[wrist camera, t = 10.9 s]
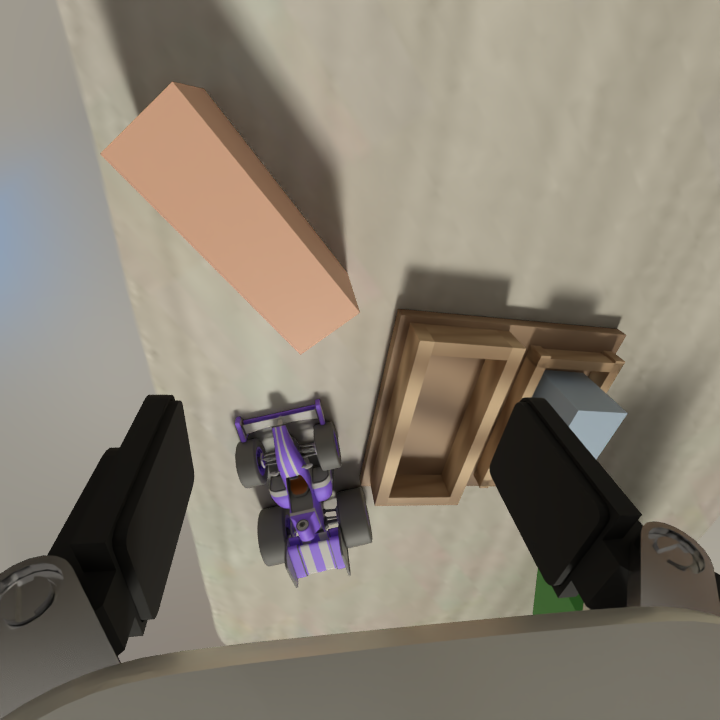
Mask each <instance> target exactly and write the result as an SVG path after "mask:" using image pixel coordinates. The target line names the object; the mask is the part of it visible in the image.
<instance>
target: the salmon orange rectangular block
mask: <svg viewBox="0 0 720 720" xmlns="http://www.w3.org/2000/svg"><path fill="white" fill-rule="evenodd" d="M100 154H101V155H102V156H103V157H104V158H105V159H106V160H107V161H108V162H109V163H110V164H111V165H112V166H113V167H114V168H115V169H116V170H117V171H118V172H119V173H120V174H121V175H122V176H123V177H124V178H125V179H126V180H127V181H128V182H129V183H130V184H131V185H132V186H133V187H134V188H135V189H136V190H137V191H138V192H139V193H140V194H141V195H142V196H143V197H144V198H145V199H146V200H147V201H148V202H149V203H150V204H151V205H152V206H153V207H154V208H155V209H156V210H157V211H158V212H159V213H160V214H161V215H162V216H163V217H164V218H165V219H166V220H167V221H168V222H169V223H170V224H171V225H172V226H173V227H174V228H175V229H176V230H177V231H178V232H179V233H180V234H181V235H182V236H183V237H184V238H185V239H186V240H187V241H188V242H189V243H190V244H191V245H192V246H193V247H194V248H195V249H196V250H197V251H198V252H199V253H200V254H201V255H202V256H203V257H204V258H205V259H206V260H207V261H208V262H209V263H210V264H211V265H212V266H213V267H214V268H215V269H216V270H217V271H218V272H219V273H220V274H221V275H222V276H223V277H224V278H225V279H226V280H227V281H228V282H229V283H230V284H231V285H232V286H233V287H234V288H235V289H236V290H237V291H238V292H239V293H240V294H241V295H242V296H243V297H244V298H245V299H246V300H247V301H248V302H249V304H250V305H251V306H252V307H253V308H254V309H255V310H256V311H257V312H258V313H259V314H260V315H261V316H262V317H263V318H264V319H265V320H266V321H267V322H268V323H269V324H270V325H271V326H272V327H273V328H274V329H275V330H276V331H277V332H278V333H279V334H280V335H281V336H282V337H283V338H284V339H285V340H286V341H287V342H288V343H289V344H290V345H291V346H292V347H293V348H294V349H295V350H296V351H297V352H298V353H299V354H300V355H301V354H302V353H304V352H305V351H307V350H308V349H309V348H311V347H312V346H314V345H315V344H316V343H318V342H319V341H321V340H322V339H323V338H325V337H326V336H328V335H329V334H330V333H332V332H333V331H335V330H336V329H337V328H339V327H340V326H342V325H343V324H345V323H346V322H347V321H349V320H350V319H352V318H353V317H354V316H356V315H357V314H359V313H360V311H359V308H358V305H357V302H356V299H355V295H354V292H353V289H352V286H351V283H350V280H349V276H348V273H347V272H346V271H345V269H344V268H343V267H342V266H341V264H340V263H339V262H338V261H337V259H336V258H335V257H334V255H333V254H332V253H331V252H330V250H329V249H328V248H327V246H326V245H325V244H324V243H323V241H322V240H321V239H320V237H319V236H318V235H317V234H316V232H315V231H314V230H313V228H312V227H311V226H310V225H309V223H308V222H307V221H306V219H305V218H304V217H303V216H302V214H301V213H300V212H299V210H298V209H297V208H296V207H295V205H294V204H293V203H292V201H291V200H290V199H289V198H288V196H287V195H286V194H285V192H284V191H283V190H282V189H281V187H280V186H279V185H278V183H277V182H276V181H275V180H274V178H273V177H272V176H271V174H270V173H269V172H268V171H267V169H266V168H265V167H264V165H263V164H262V163H261V162H260V160H259V159H258V158H257V156H256V155H255V154H254V153H253V151H252V150H251V149H250V147H249V146H248V145H247V144H246V142H245V141H244V140H243V138H242V137H241V136H240V135H239V133H238V132H237V131H236V129H235V128H234V127H233V126H232V124H231V123H230V122H229V120H228V119H227V118H226V117H225V115H224V114H223V113H222V112H221V110H220V109H219V108H218V106H217V105H216V104H215V103H214V101H213V100H212V99H211V97H210V96H209V95H208V94H207V92H206V91H205V90H204V89H203V88H198V87H194V86H189V85H185V84H181V83H176V82H171V83H170V84H169V85H168V86H167V87H166V88H165V89H164V90H163V91H162V92H161V93H160V94H159V95H158V96H157V97H156V98H155V99H154V100H153V101H152V102H151V103H150V104H149V105H148V106H147V107H146V108H145V109H144V110H143V111H142V112H141V113H140V114H139V115H138V116H137V117H136V118H135V119H134V120H133V121H132V122H131V123H130V124H129V125H128V126H127V127H126V128H125V129H124V130H123V131H122V132H121V133H120V134H119V135H118V136H117V137H116V138H115V139H114V140H113V141H112V142H111V143H110V144H109V145H108V146H107V147H106V148H105V149H104V150H103V151H102V152H101V153H100Z"/></svg>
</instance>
